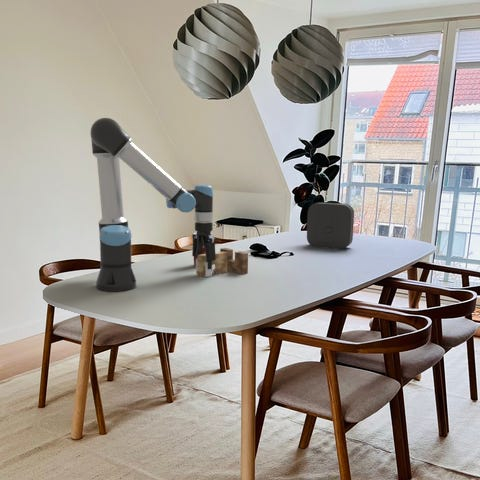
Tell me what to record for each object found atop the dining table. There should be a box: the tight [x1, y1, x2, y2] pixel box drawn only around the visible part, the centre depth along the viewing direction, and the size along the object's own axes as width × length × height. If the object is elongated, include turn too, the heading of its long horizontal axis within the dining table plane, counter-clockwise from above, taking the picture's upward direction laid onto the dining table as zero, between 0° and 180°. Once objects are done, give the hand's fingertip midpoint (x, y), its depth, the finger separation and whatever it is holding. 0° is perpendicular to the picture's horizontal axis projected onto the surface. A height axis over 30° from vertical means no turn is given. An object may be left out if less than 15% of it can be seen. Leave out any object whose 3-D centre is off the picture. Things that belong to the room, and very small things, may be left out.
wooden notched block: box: [219, 247, 249, 275], centre depth 242 cm, size 16×3×9 cm, turn 40°
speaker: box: [306, 202, 355, 250], centre depth 305 cm, size 25×9×25 cm, turn 67°
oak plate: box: [196, 251, 228, 278], centre depth 234 cm, size 14×3×9 cm, turn 130°
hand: (203, 274), depth 232 cm, fingers open, 6 cm apart
